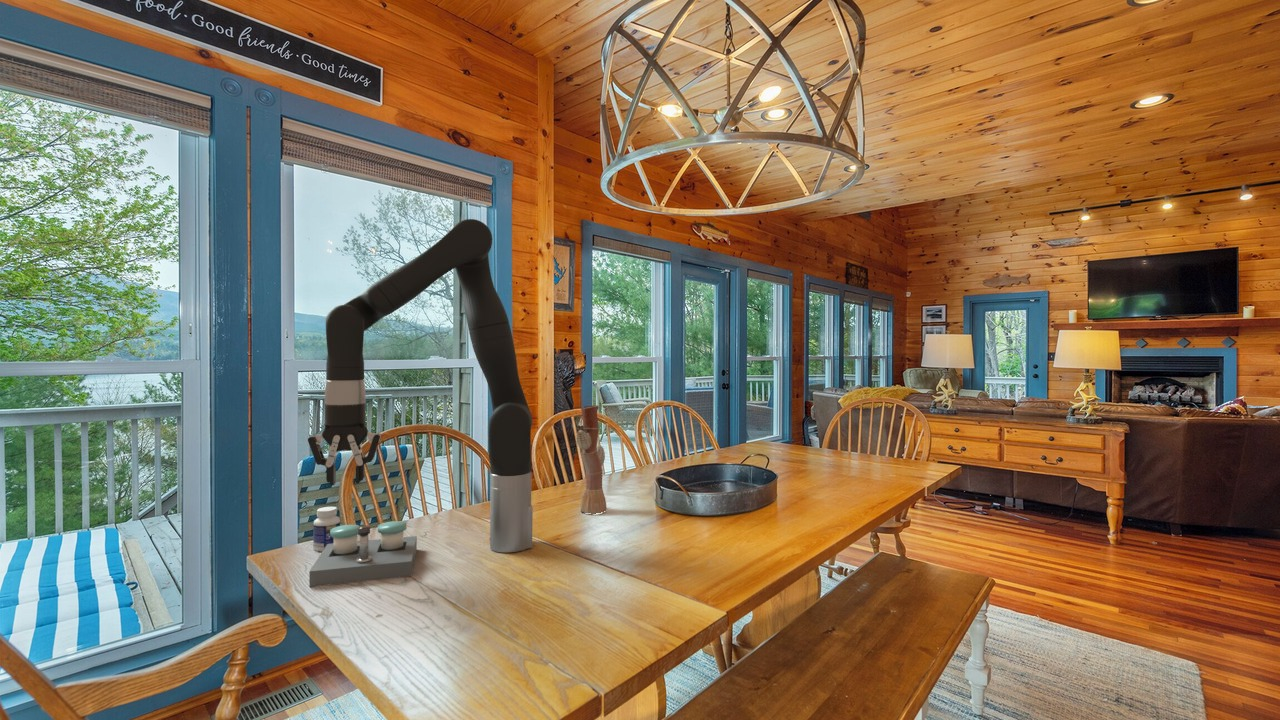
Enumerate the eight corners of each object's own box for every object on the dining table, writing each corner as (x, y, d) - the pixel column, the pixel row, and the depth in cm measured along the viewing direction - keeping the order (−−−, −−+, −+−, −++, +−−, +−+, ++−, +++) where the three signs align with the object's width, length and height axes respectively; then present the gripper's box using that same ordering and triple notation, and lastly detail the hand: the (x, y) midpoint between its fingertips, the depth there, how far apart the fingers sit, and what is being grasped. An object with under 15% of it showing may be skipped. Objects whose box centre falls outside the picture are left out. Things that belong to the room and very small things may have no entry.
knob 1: (362, 544, 122) (362, 523, 122) (358, 553, 117) (358, 531, 117) (333, 547, 120) (333, 525, 120) (327, 556, 115) (327, 534, 115)
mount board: (416, 549, 129) (416, 536, 129) (411, 576, 113) (411, 561, 113) (327, 557, 123) (327, 543, 123) (309, 587, 108) (309, 571, 108)
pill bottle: (328, 552, 126) (328, 512, 126) (307, 550, 127) (307, 511, 127) (345, 544, 131) (345, 506, 131) (325, 542, 132) (325, 505, 132)
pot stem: (372, 557, 115) (372, 524, 115) (370, 562, 112) (370, 528, 112) (357, 559, 114) (357, 525, 114) (355, 564, 112) (355, 530, 112)
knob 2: (407, 540, 125) (407, 520, 125) (405, 549, 120) (405, 527, 120) (379, 542, 123) (379, 522, 123) (376, 551, 118) (376, 530, 118)
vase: (599, 506, 166) (599, 403, 165) (613, 511, 160) (614, 405, 159) (567, 512, 159) (568, 405, 159) (581, 518, 153) (582, 407, 153)
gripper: (384, 399, 124) (384, 477, 124) (311, 400, 119) (311, 481, 120) (380, 402, 117) (380, 485, 117) (302, 404, 112) (302, 490, 113)
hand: (345, 483), depth 118 cm, fingers open, 4 cm apart
